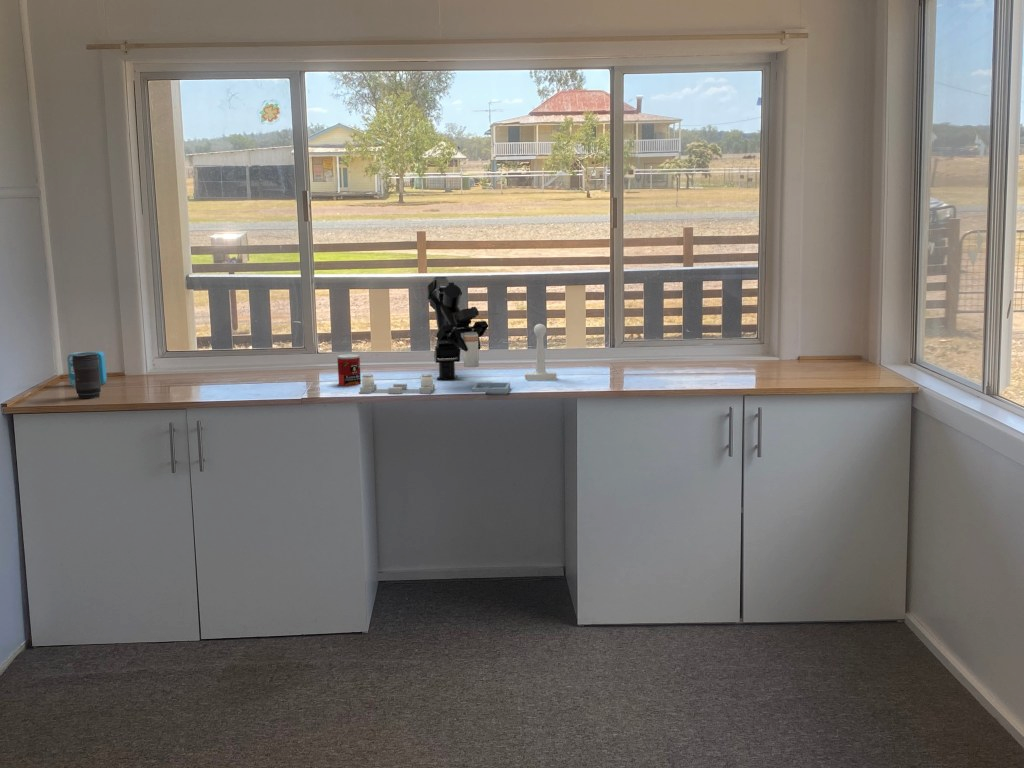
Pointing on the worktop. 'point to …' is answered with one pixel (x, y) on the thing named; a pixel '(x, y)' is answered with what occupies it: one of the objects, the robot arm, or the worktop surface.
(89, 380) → the camera lens
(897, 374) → the worktop surface
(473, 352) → the copper banded cylinder
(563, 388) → the worktop surface
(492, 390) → the tray
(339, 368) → the canned food
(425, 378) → the small fuse
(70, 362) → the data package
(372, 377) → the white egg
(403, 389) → the block
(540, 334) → the joystick
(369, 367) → the worktop surface
